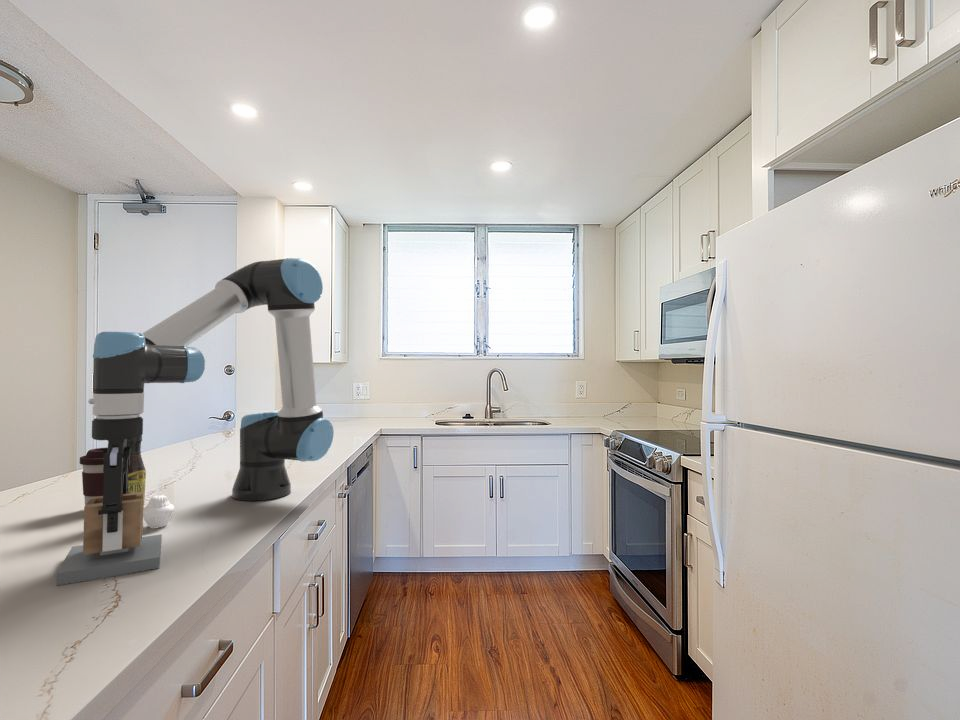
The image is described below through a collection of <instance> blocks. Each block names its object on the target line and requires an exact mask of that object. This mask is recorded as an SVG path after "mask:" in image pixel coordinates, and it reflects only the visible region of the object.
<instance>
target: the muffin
mask: <svg viewBox="0 0 960 720" xmlns="http://www.w3.org/2000/svg"><path fill="white" fill-rule="evenodd" d="M174 512H175V506H174V504H172V503H171V501H169V498H168V497H167V496H166V495H160V494H158V495H154V496H152V497H151V498H150V499H149V500H148V503H147V504H146V506H144V509H143V521H145V523H146V525H147V526H148V527H150V529H157V528H156V527H161V528H163V526H164V527H166V526H167V525H168V523H169V521H170V520H171V518H172V516H173V513H174ZM165 525H166V526H165Z"/></svg>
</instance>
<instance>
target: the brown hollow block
mask: <svg viewBox="0 0 960 720" xmlns="http://www.w3.org/2000/svg"><path fill="white" fill-rule="evenodd" d="M143 500H144V501H145V499H144V492H136V493H126V494H123V496H122V507H123V509H122V511H123V532H122V549H125V548H132V547H139V546H140V544H141V539H142V537H143V534H144V533H143V531H144V518H143V517H144V516H143ZM108 505H113V504H108ZM102 507H103V496H96V497H91V498H90V500H89V501H88V503H87V504H86V505H85V504H84V508H83V533H82V534H83V536H82V537H83V538H82V539H83V540H82V541H83V544H82V545H83V555H84V554H91V553H98V552H102V546H103V514H100V515H98V510H102Z"/></svg>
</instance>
